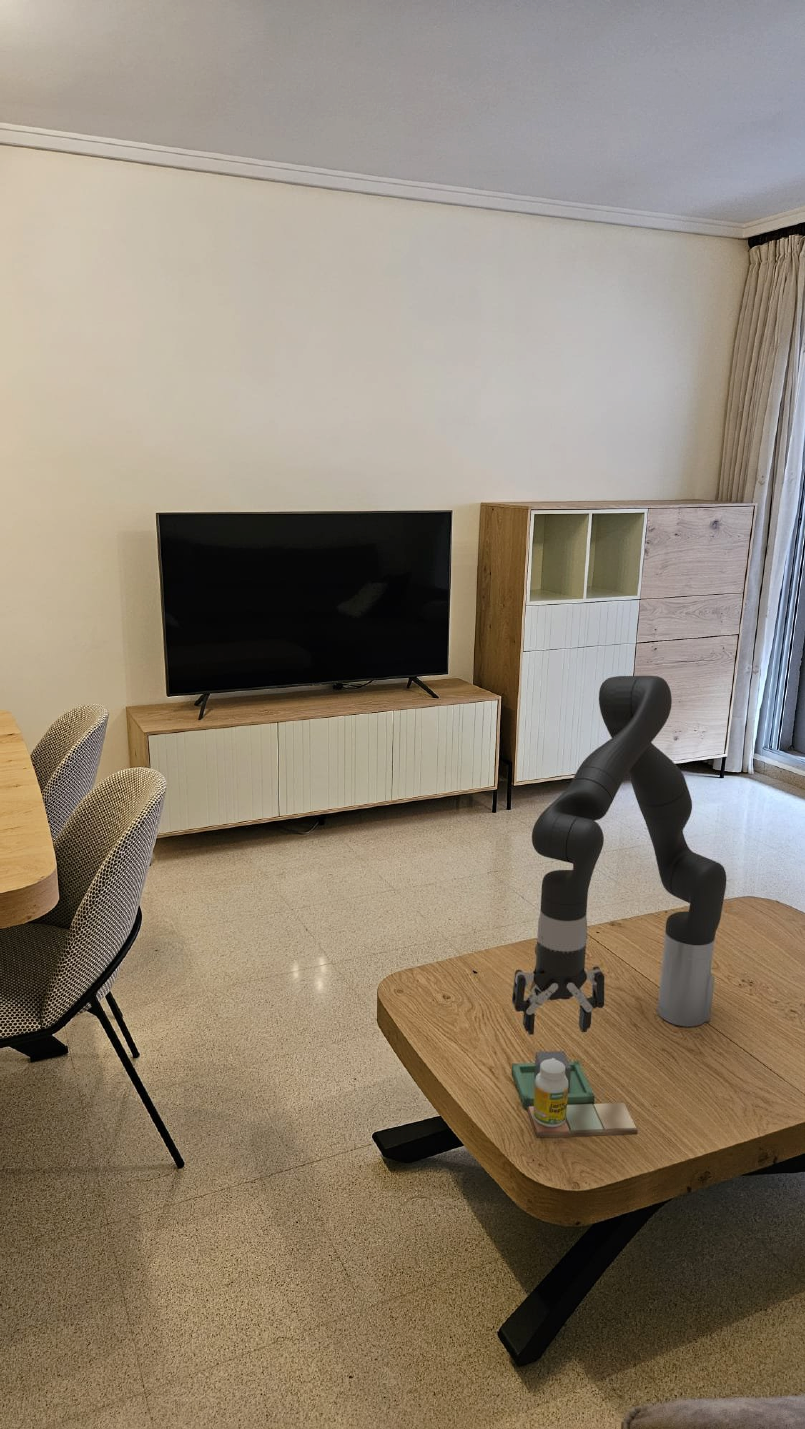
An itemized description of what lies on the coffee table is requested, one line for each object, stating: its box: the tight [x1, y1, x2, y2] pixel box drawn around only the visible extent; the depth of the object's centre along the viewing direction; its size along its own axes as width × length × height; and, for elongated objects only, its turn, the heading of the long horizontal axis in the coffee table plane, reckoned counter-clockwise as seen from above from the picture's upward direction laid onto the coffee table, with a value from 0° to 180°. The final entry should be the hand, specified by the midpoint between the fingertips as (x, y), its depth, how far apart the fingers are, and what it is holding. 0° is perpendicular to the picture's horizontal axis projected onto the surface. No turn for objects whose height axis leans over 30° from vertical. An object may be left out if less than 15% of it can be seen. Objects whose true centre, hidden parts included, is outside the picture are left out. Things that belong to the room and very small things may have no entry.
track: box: [526, 1102, 639, 1139], centre depth 161 cm, size 16×7×1 cm, turn 95°
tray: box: [511, 1060, 596, 1109], centre depth 169 cm, size 12×10×2 cm
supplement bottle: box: [533, 1059, 568, 1127], centre depth 159 cm, size 5×5×10 cm
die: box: [534, 1050, 571, 1093], centre depth 169 cm, size 5×5×5 cm
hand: (556, 1030), depth 156 cm, fingers open, 8 cm apart
